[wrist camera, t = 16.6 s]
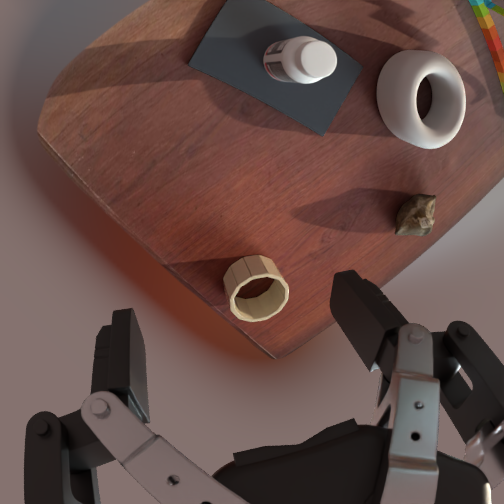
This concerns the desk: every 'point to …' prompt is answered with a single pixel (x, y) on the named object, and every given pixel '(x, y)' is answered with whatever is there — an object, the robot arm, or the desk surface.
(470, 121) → the desk surface
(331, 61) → the pill bottle
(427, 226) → the fossilized seashell
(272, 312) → the bracelet
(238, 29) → the mat
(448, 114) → the fat ring
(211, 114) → the desk surface
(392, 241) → the desk surface
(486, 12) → the chart
